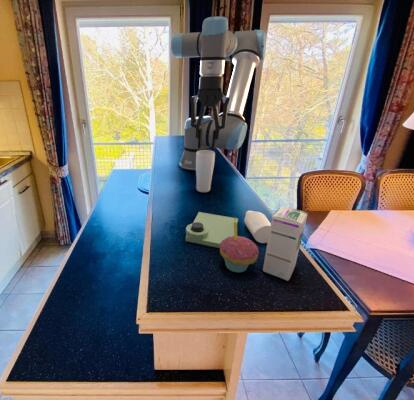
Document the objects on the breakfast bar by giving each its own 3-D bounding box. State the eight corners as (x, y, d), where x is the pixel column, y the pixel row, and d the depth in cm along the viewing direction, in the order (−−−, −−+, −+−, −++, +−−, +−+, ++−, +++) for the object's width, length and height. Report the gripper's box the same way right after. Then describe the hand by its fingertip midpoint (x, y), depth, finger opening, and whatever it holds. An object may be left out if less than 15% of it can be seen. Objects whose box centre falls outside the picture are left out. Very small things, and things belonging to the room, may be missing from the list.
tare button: (193, 226, 73) (193, 221, 72) (203, 228, 72) (204, 223, 71) (190, 231, 70) (190, 226, 69) (201, 233, 69) (201, 228, 68)
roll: (258, 220, 81) (260, 203, 78) (274, 243, 70) (278, 224, 67) (238, 220, 80) (240, 204, 78) (252, 243, 70) (255, 225, 67)
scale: (197, 215, 84) (197, 207, 82) (237, 222, 79) (238, 213, 78) (183, 241, 71) (183, 232, 69) (230, 251, 66) (232, 241, 65)
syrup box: (288, 282, 57) (304, 223, 50) (260, 271, 60) (272, 215, 54) (294, 267, 61) (309, 212, 54) (268, 258, 64) (279, 204, 58)
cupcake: (210, 265, 62) (214, 221, 56) (230, 250, 67) (236, 208, 62) (243, 284, 56) (252, 236, 51) (262, 265, 61) (271, 221, 56)
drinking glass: (193, 192, 99) (195, 154, 93) (195, 186, 105) (197, 149, 99) (211, 194, 98) (214, 155, 91) (212, 187, 104) (215, 150, 97)
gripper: (182, 75, 84) (180, 148, 94) (238, 75, 78) (229, 152, 88) (188, 75, 90) (186, 143, 100) (240, 75, 85) (232, 147, 95)
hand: (206, 147), depth 94 cm, fingers open, 4 cm apart
